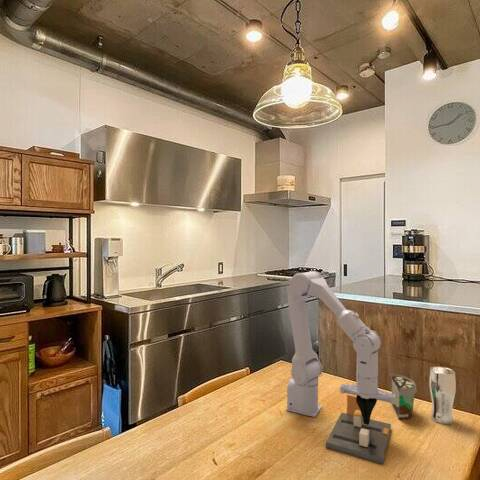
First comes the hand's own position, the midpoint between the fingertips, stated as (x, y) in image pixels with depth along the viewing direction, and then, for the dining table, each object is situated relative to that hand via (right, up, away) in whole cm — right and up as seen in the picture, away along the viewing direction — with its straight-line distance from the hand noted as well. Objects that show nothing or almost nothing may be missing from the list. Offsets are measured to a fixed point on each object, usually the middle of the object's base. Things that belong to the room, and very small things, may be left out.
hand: (366, 422), depth 101 cm
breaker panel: (-3, -3, -3) cm, 5 cm away
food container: (+16, -3, +11) cm, 20 cm away
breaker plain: (-4, -1, -8) cm, 9 cm away
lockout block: (0, -3, +11) cm, 12 cm away
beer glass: (+25, -3, +7) cm, 27 cm away
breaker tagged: (-2, -1, +1) cm, 3 cm away
